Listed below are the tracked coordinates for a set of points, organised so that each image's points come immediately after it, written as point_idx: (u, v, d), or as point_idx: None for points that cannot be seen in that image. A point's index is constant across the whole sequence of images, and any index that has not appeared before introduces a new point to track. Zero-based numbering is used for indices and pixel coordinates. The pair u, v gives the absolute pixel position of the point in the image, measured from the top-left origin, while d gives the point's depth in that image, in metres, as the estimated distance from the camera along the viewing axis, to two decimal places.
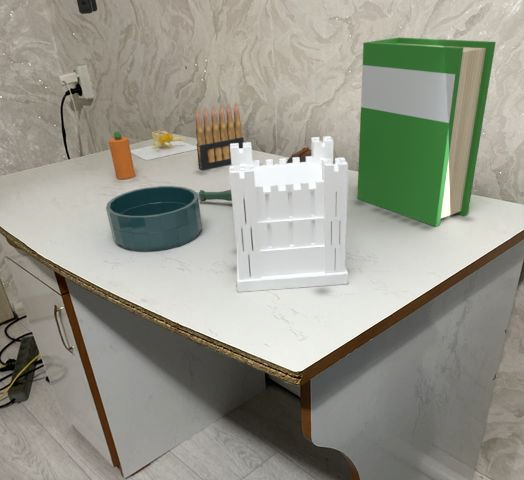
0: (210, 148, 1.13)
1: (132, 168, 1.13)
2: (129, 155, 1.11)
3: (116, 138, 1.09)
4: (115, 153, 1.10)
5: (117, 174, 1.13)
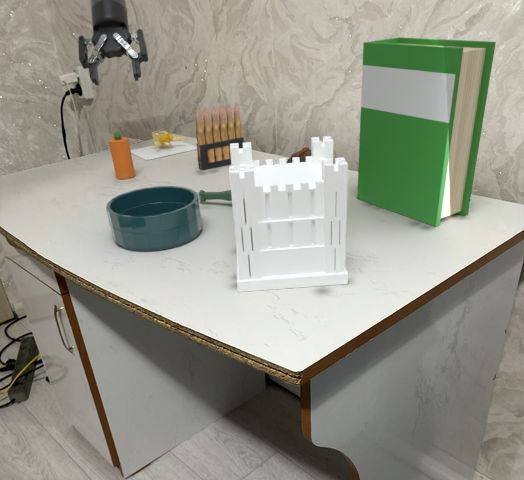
0: (210, 148, 1.13)
1: (132, 168, 1.13)
2: (129, 155, 1.11)
3: (116, 138, 1.09)
4: (115, 153, 1.10)
5: (117, 174, 1.13)
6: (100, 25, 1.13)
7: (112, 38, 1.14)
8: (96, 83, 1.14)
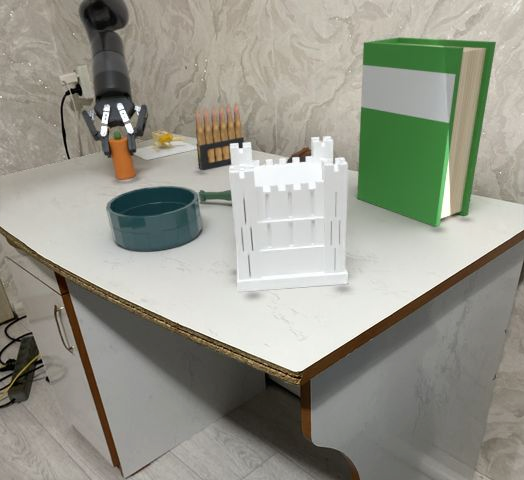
0: (210, 148, 1.13)
1: (132, 168, 1.13)
2: (129, 155, 1.11)
3: (116, 138, 1.09)
4: (115, 153, 1.10)
5: (117, 174, 1.13)
6: (103, 94, 1.10)
7: (115, 108, 1.11)
8: (109, 156, 1.10)
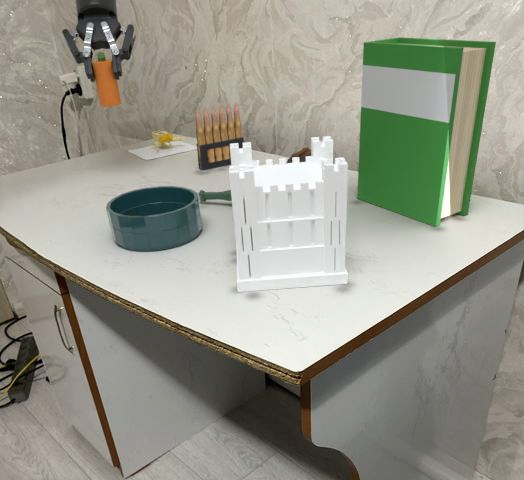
0: (210, 148, 1.13)
1: (118, 94, 1.04)
2: (114, 79, 1.02)
3: (100, 59, 1.00)
4: (99, 75, 1.01)
5: (101, 101, 1.04)
6: (86, 12, 1.01)
7: (99, 27, 1.02)
8: (92, 79, 1.01)
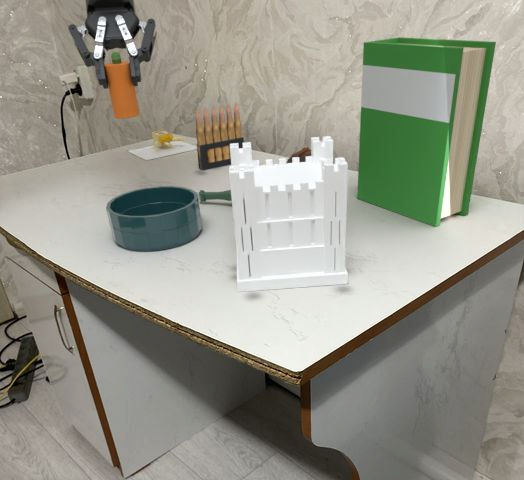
0: (210, 148, 1.13)
1: (136, 104, 0.86)
2: (132, 85, 0.84)
3: (114, 61, 0.82)
4: (113, 81, 0.83)
5: (116, 112, 0.86)
6: (97, 4, 0.83)
7: (114, 22, 0.84)
8: (105, 85, 0.83)
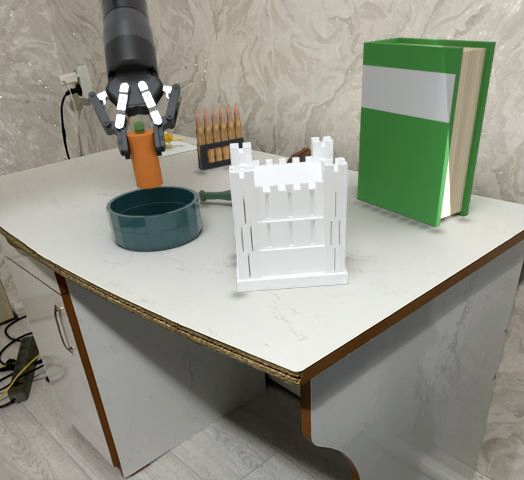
0: (210, 148, 1.13)
1: (159, 173, 0.81)
2: (155, 155, 0.79)
3: (137, 131, 0.77)
4: (136, 152, 0.77)
5: (138, 182, 0.80)
6: (119, 69, 0.77)
7: (136, 88, 0.78)
8: (127, 157, 0.78)
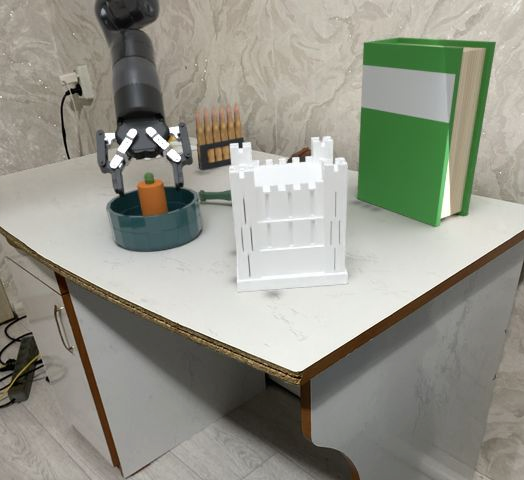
0: (210, 148, 1.13)
1: None
2: (164, 204, 0.83)
3: (147, 182, 0.81)
4: (146, 201, 0.82)
5: None
6: (128, 116, 0.81)
7: (144, 134, 0.82)
8: (121, 195, 0.81)
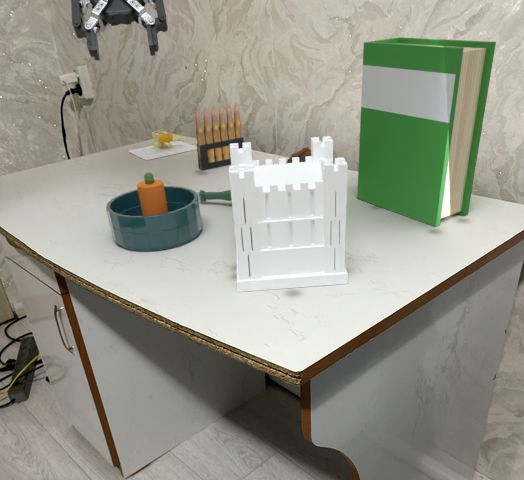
0: (210, 148, 1.13)
1: None
2: (164, 204, 0.83)
3: (147, 182, 0.81)
4: (146, 201, 0.82)
5: None
6: None
7: None
8: (96, 57, 0.82)
